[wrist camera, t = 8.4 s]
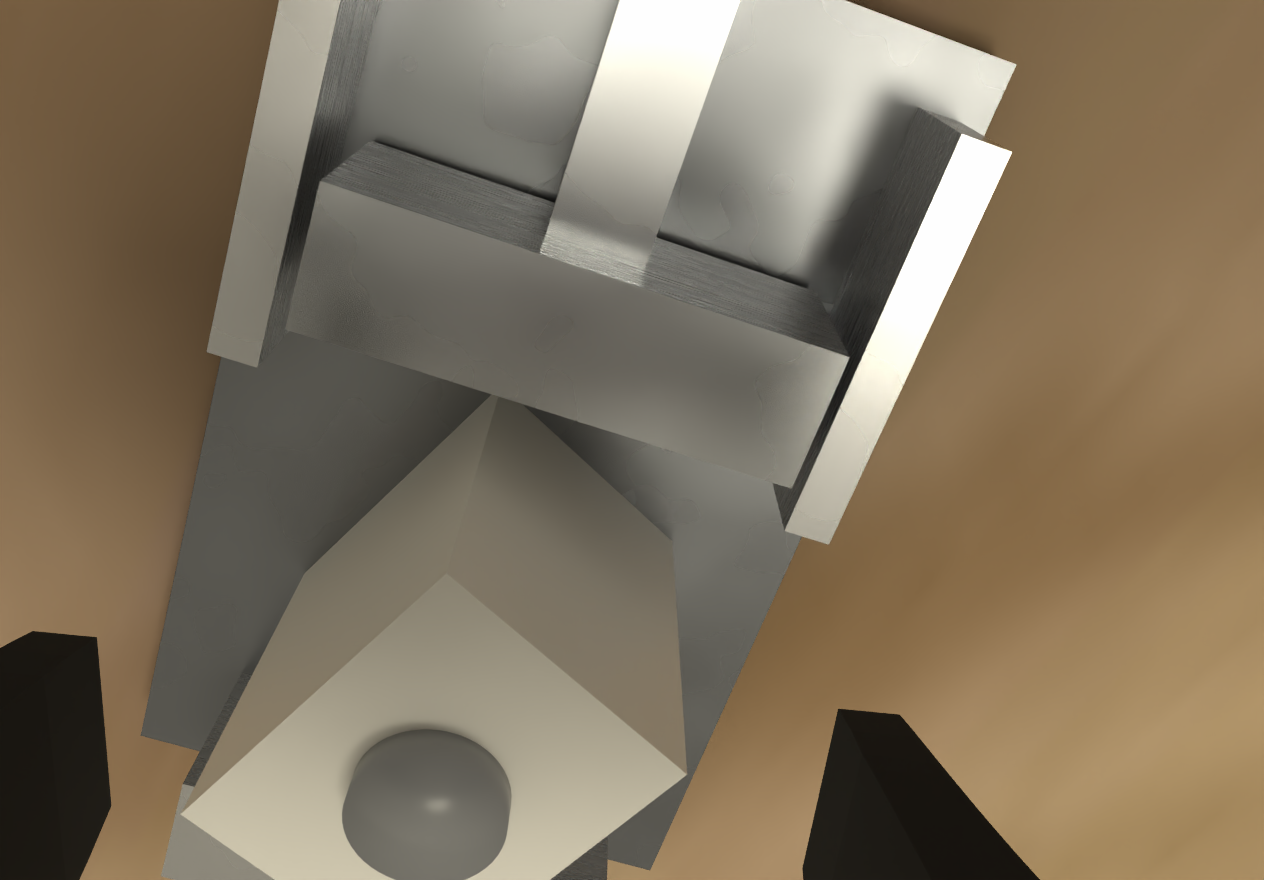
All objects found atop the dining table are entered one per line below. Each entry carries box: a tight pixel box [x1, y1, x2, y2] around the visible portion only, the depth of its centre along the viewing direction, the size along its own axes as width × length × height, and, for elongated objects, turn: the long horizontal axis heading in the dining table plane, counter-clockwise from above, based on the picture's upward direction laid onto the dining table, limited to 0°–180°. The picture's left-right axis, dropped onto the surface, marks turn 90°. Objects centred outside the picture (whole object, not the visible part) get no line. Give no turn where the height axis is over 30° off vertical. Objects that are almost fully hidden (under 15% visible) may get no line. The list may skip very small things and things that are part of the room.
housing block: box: [181, 395, 687, 880], centre depth 17 cm, size 4×5×6 cm
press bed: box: [141, 0, 1016, 880], centre depth 18 cm, size 10×16×4 cm, turn 161°
